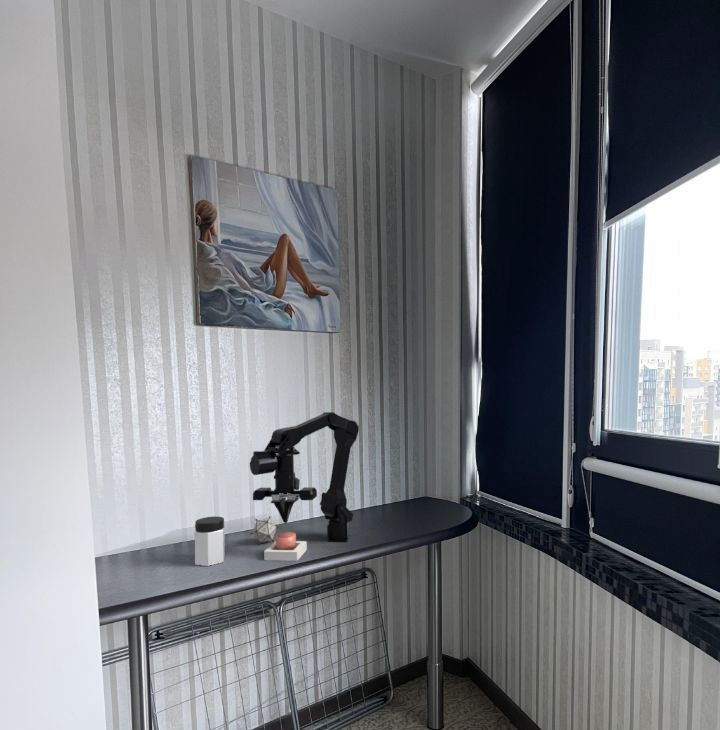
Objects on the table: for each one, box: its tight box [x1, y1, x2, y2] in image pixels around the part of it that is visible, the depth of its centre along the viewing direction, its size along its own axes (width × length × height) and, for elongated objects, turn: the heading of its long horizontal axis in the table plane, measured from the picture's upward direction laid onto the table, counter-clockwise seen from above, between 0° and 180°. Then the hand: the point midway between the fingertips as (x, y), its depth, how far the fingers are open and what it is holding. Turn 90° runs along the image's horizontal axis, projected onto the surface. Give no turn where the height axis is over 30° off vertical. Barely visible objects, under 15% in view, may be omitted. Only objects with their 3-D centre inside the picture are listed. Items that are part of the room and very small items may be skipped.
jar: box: [194, 516, 226, 567], centre depth 137 cm, size 9×8×12 cm
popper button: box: [275, 531, 297, 550], centre depth 140 cm, size 6×6×4 cm
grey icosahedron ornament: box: [249, 516, 280, 546], centre depth 152 cm, size 9×8×10 cm
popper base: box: [263, 540, 308, 562], centre depth 140 cm, size 10×10×2 cm
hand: (285, 522), depth 140 cm, fingers closed
